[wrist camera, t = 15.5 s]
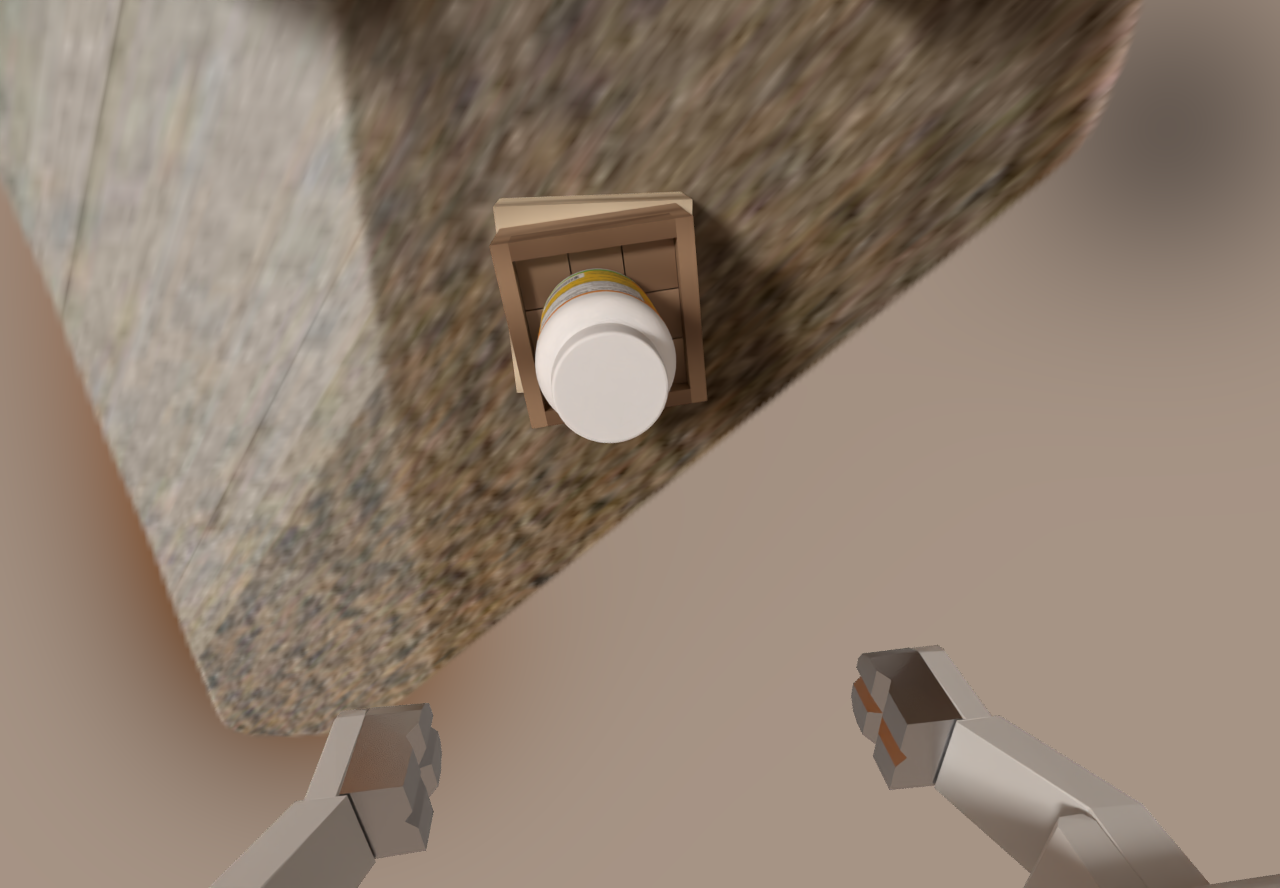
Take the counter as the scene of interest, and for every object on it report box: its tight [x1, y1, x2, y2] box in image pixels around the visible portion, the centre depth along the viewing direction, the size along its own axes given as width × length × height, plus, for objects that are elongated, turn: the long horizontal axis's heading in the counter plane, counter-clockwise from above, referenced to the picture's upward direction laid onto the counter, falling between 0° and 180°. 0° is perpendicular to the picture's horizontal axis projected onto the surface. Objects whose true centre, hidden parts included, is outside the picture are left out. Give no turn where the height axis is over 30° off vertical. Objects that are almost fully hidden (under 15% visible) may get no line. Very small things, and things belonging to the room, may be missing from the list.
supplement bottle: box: [535, 269, 676, 443], centre depth 25 cm, size 5×5×10 cm
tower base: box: [493, 192, 692, 393], centre depth 35 cm, size 10×10×4 cm
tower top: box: [490, 203, 707, 429], centre depth 31 cm, size 9×9×5 cm
